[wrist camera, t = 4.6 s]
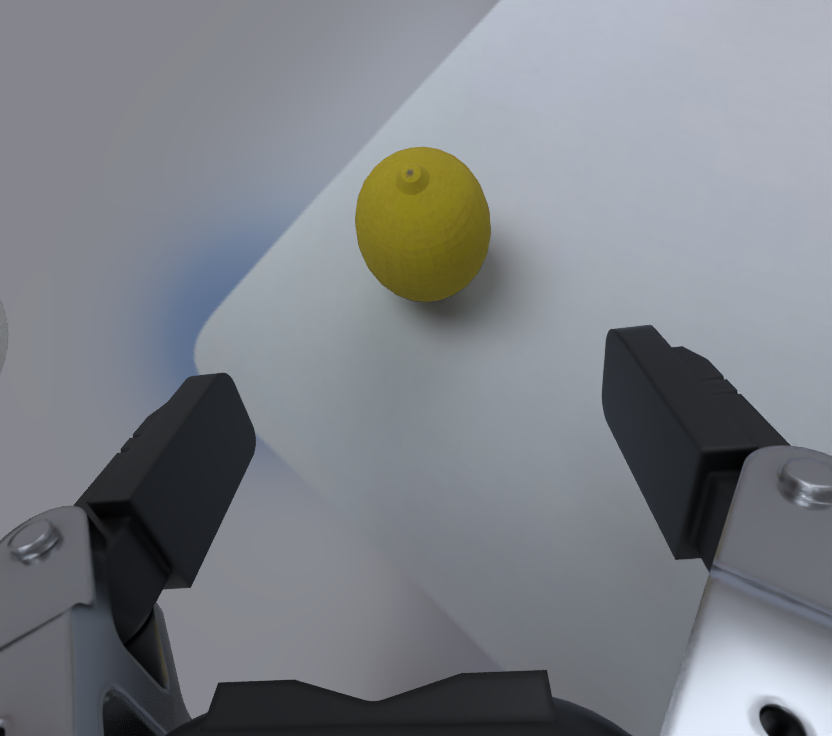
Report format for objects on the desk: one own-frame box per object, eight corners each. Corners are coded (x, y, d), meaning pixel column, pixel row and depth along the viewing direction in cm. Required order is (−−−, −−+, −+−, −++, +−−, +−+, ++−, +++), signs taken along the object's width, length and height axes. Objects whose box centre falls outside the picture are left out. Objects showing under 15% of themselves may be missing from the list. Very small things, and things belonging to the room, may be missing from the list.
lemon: (413, 205, 24) (383, 79, 16) (508, 249, 23) (524, 137, 15) (358, 293, 23) (300, 206, 16) (453, 343, 22) (440, 276, 14)
